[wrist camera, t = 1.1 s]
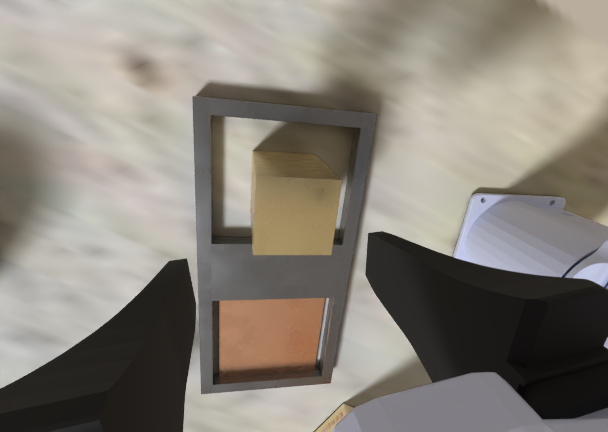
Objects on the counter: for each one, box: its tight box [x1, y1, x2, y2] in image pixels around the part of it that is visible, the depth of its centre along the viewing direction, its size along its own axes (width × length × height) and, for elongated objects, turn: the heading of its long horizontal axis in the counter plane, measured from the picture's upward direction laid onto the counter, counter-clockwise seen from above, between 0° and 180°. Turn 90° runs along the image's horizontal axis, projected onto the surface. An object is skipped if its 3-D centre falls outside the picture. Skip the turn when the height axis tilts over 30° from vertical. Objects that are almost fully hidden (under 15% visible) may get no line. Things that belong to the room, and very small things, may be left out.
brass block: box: [250, 150, 342, 255], centre depth 20 cm, size 4×4×7 cm
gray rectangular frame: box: [193, 96, 377, 394], centre depth 25 cm, size 12×25×1 cm, turn 174°
